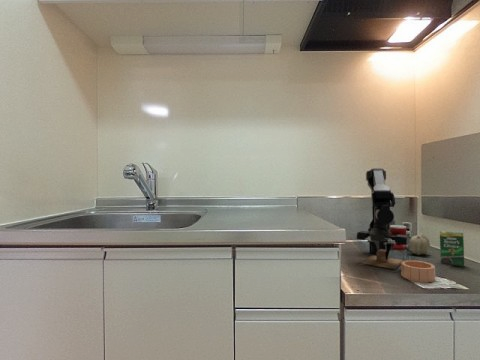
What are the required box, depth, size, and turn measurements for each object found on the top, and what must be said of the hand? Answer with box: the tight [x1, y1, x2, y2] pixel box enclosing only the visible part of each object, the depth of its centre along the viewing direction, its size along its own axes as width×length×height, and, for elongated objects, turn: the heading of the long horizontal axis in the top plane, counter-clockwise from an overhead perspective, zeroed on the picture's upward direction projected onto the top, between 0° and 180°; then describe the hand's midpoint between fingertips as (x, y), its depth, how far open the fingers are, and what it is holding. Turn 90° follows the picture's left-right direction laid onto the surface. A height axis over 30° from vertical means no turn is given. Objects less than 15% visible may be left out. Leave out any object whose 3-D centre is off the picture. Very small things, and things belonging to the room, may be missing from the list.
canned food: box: [390, 224, 407, 251], centre depth 149 cm, size 8×8×11 cm
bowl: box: [400, 259, 436, 283], centre depth 105 cm, size 10×10×5 cm
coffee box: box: [439, 231, 465, 268], centre depth 121 cm, size 8×3×13 cm, turn 51°
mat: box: [359, 262, 401, 273], centre depth 120 cm, size 14×14×1 cm
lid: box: [361, 249, 404, 269], centre depth 120 cm, size 12×12×5 cm
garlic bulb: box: [408, 233, 431, 256], centre depth 136 cm, size 9×8×10 cm
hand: (382, 258), depth 120 cm, fingers closed on lid, 3 cm apart
